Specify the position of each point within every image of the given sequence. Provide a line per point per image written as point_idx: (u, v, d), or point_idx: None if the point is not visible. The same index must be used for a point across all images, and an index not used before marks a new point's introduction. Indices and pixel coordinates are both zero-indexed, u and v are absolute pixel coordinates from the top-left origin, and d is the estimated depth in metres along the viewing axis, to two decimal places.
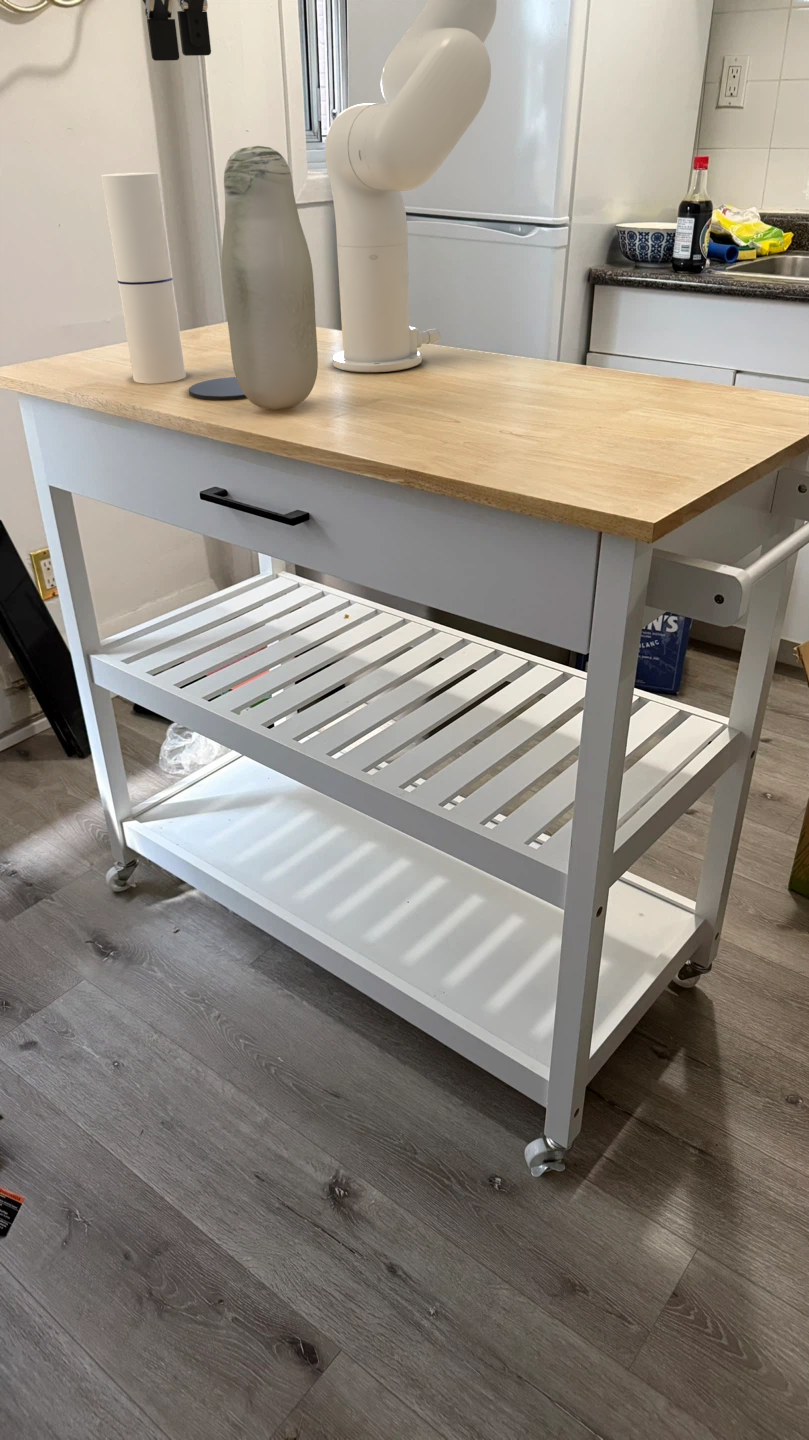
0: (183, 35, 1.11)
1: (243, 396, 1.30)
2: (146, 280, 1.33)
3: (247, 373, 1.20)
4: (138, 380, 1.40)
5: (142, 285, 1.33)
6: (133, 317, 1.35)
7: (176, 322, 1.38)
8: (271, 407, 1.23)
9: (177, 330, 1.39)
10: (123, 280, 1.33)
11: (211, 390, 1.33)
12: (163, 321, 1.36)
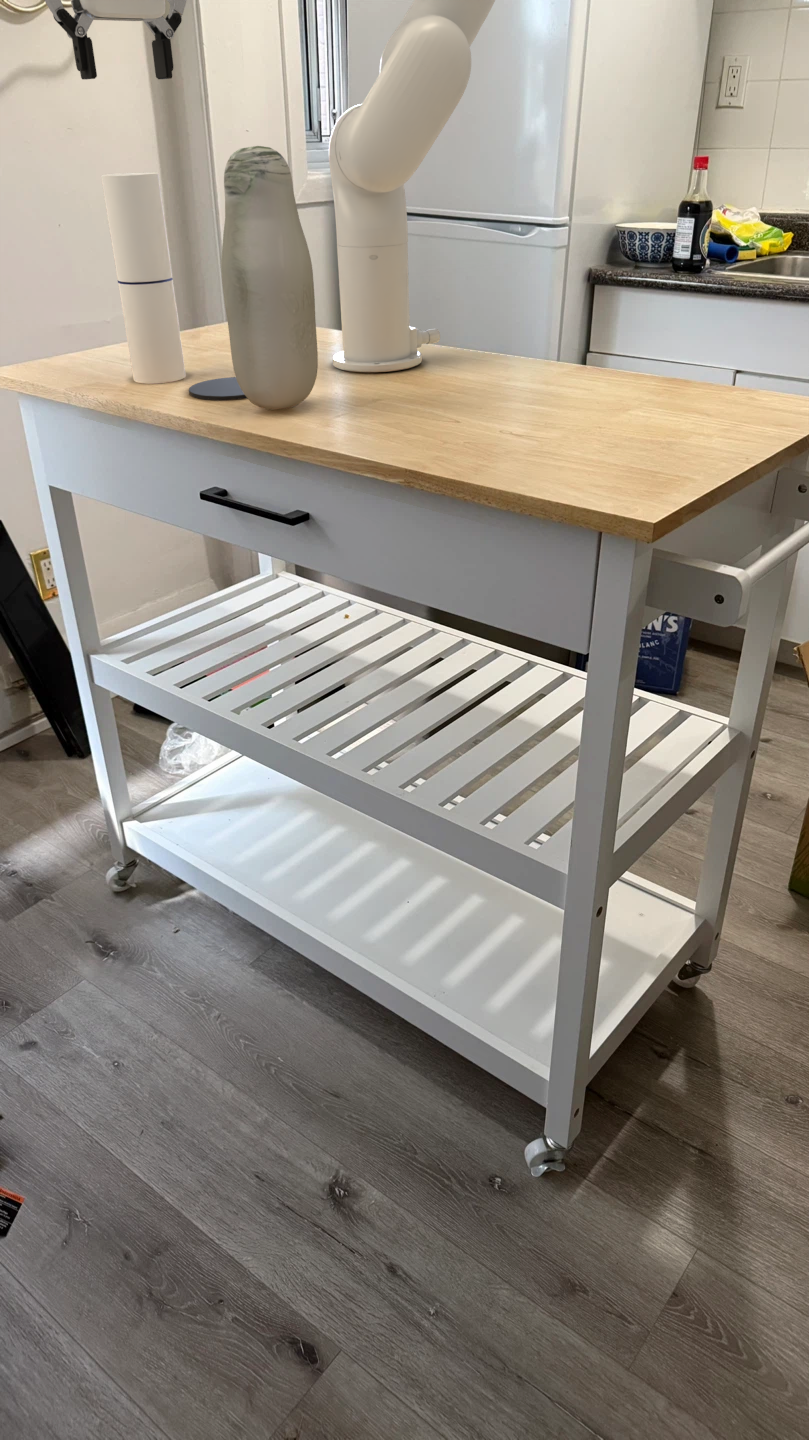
0: None
1: (243, 396, 1.30)
2: (146, 280, 1.33)
3: (247, 373, 1.20)
4: (138, 380, 1.40)
5: (142, 285, 1.33)
6: (134, 317, 1.35)
7: (176, 322, 1.38)
8: (271, 407, 1.23)
9: (177, 330, 1.39)
10: (123, 280, 1.33)
11: (211, 390, 1.33)
12: (163, 321, 1.36)
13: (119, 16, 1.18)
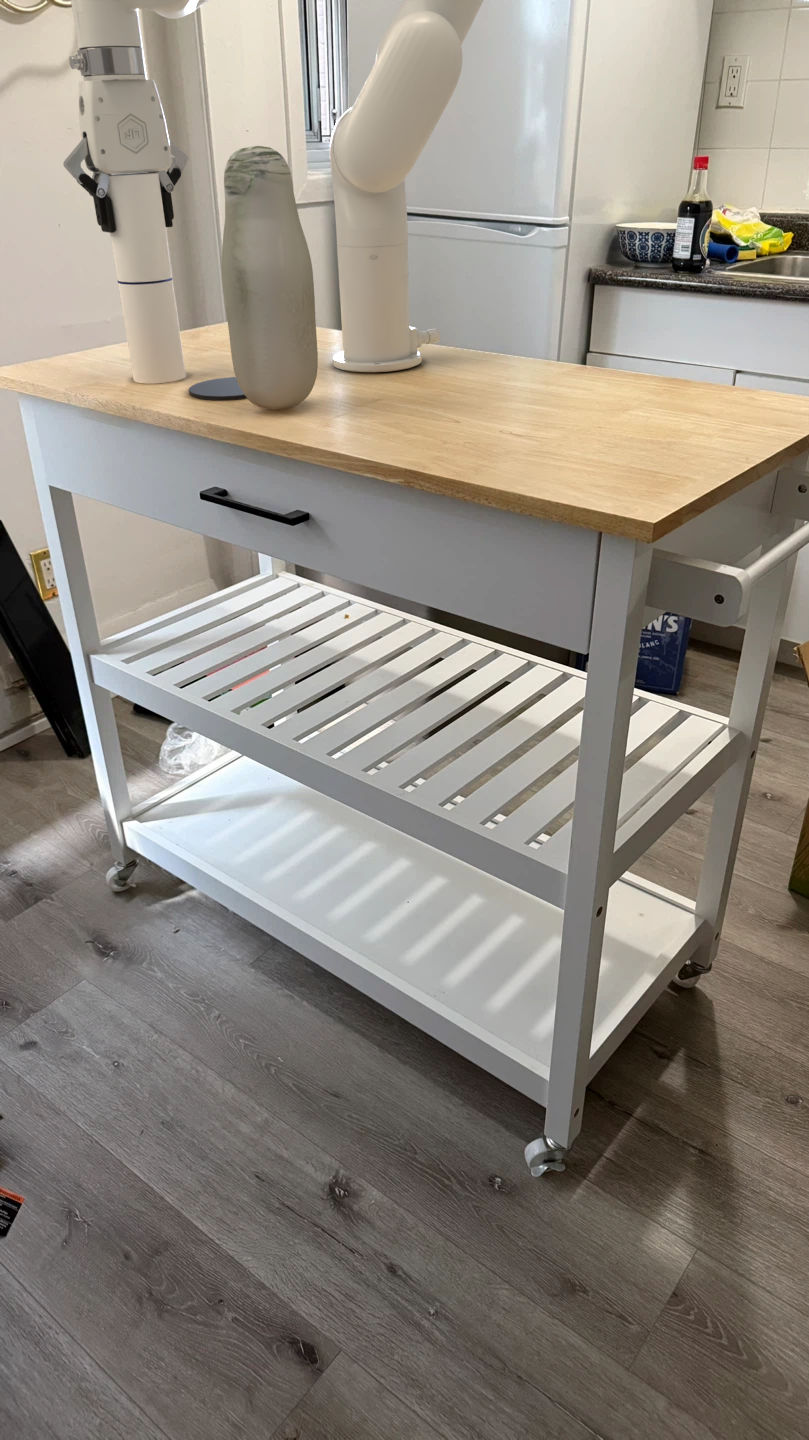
0: None
1: (243, 396, 1.30)
2: (146, 280, 1.33)
3: (247, 373, 1.20)
4: (138, 380, 1.40)
5: (142, 285, 1.33)
6: (133, 317, 1.35)
7: (176, 322, 1.38)
8: (271, 407, 1.23)
9: (177, 330, 1.39)
10: (123, 280, 1.33)
11: (211, 390, 1.33)
12: (163, 321, 1.36)
13: (128, 172, 1.27)
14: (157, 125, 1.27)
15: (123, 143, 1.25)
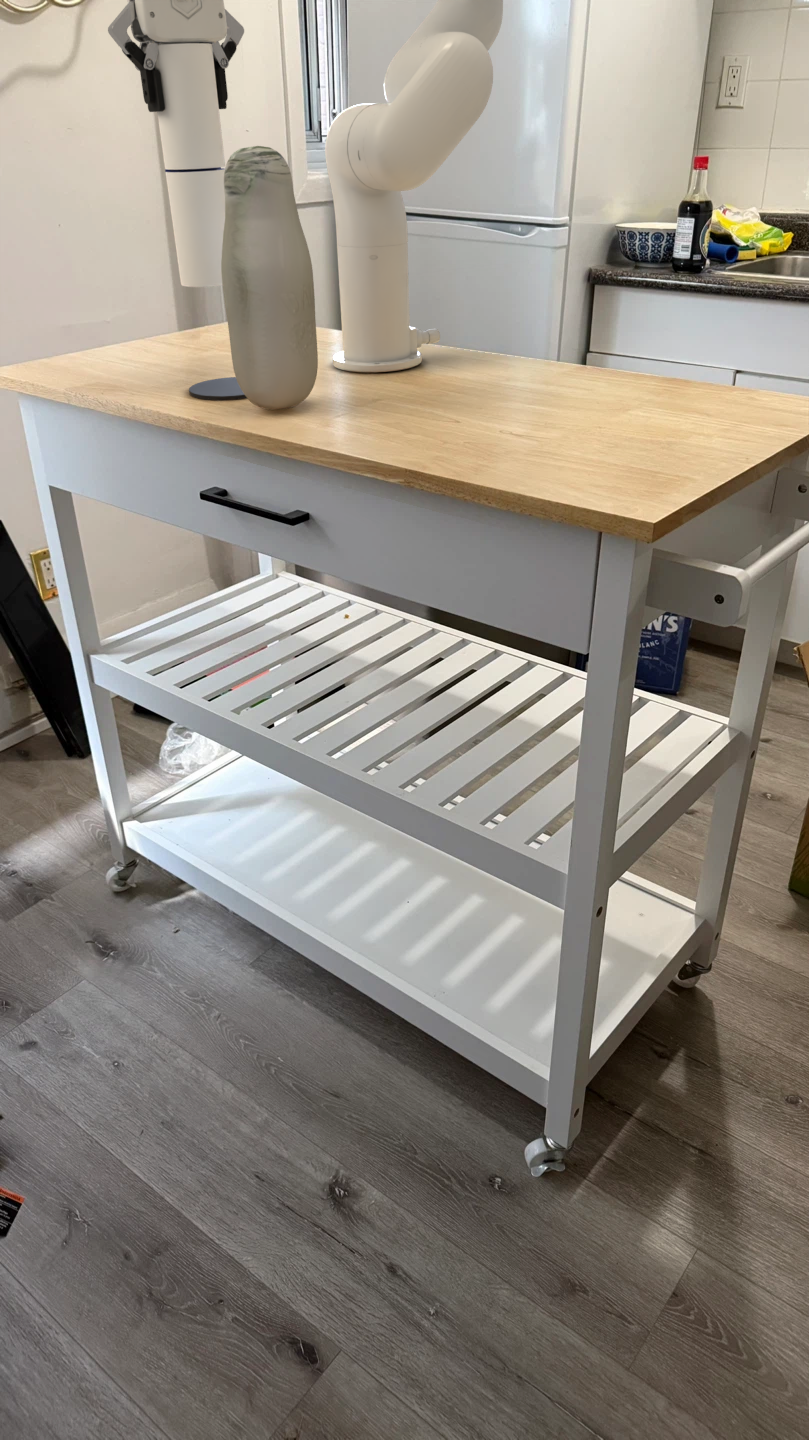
0: None
1: (243, 396, 1.30)
2: (197, 167, 1.20)
3: (247, 373, 1.20)
4: (186, 284, 1.27)
5: (193, 173, 1.20)
6: (183, 210, 1.22)
7: None
8: (271, 407, 1.23)
9: None
10: (172, 167, 1.20)
11: (211, 390, 1.33)
12: (215, 215, 1.23)
13: (180, 40, 1.14)
14: None
15: (174, 6, 1.12)
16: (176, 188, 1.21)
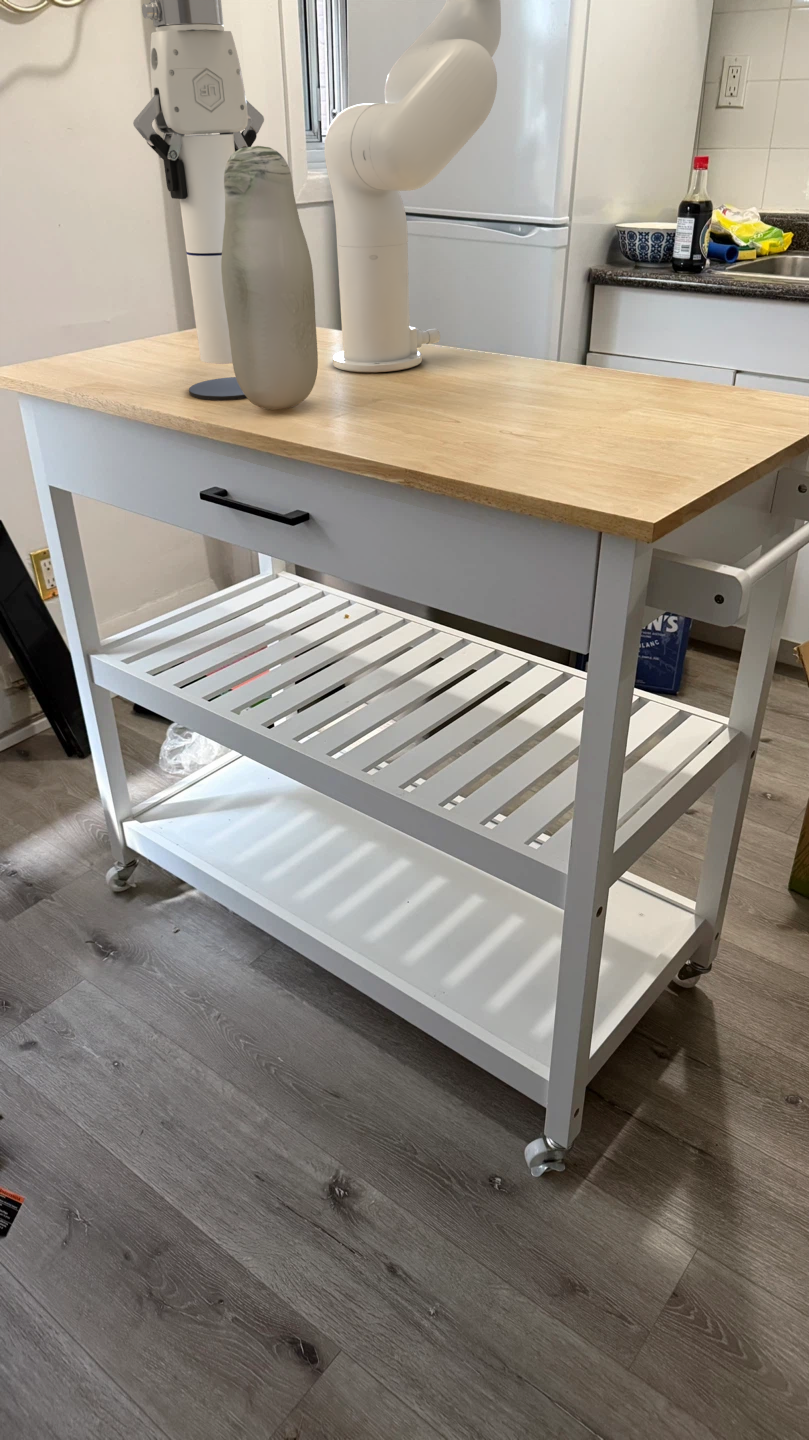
0: None
1: (243, 396, 1.30)
2: (218, 251, 1.23)
3: (247, 373, 1.20)
4: (206, 360, 1.30)
5: (214, 256, 1.23)
6: (204, 292, 1.25)
7: None
8: (271, 407, 1.23)
9: None
10: (193, 251, 1.24)
11: (211, 390, 1.33)
12: None
13: (203, 132, 1.17)
14: (234, 81, 1.17)
15: (198, 100, 1.15)
16: (197, 270, 1.25)
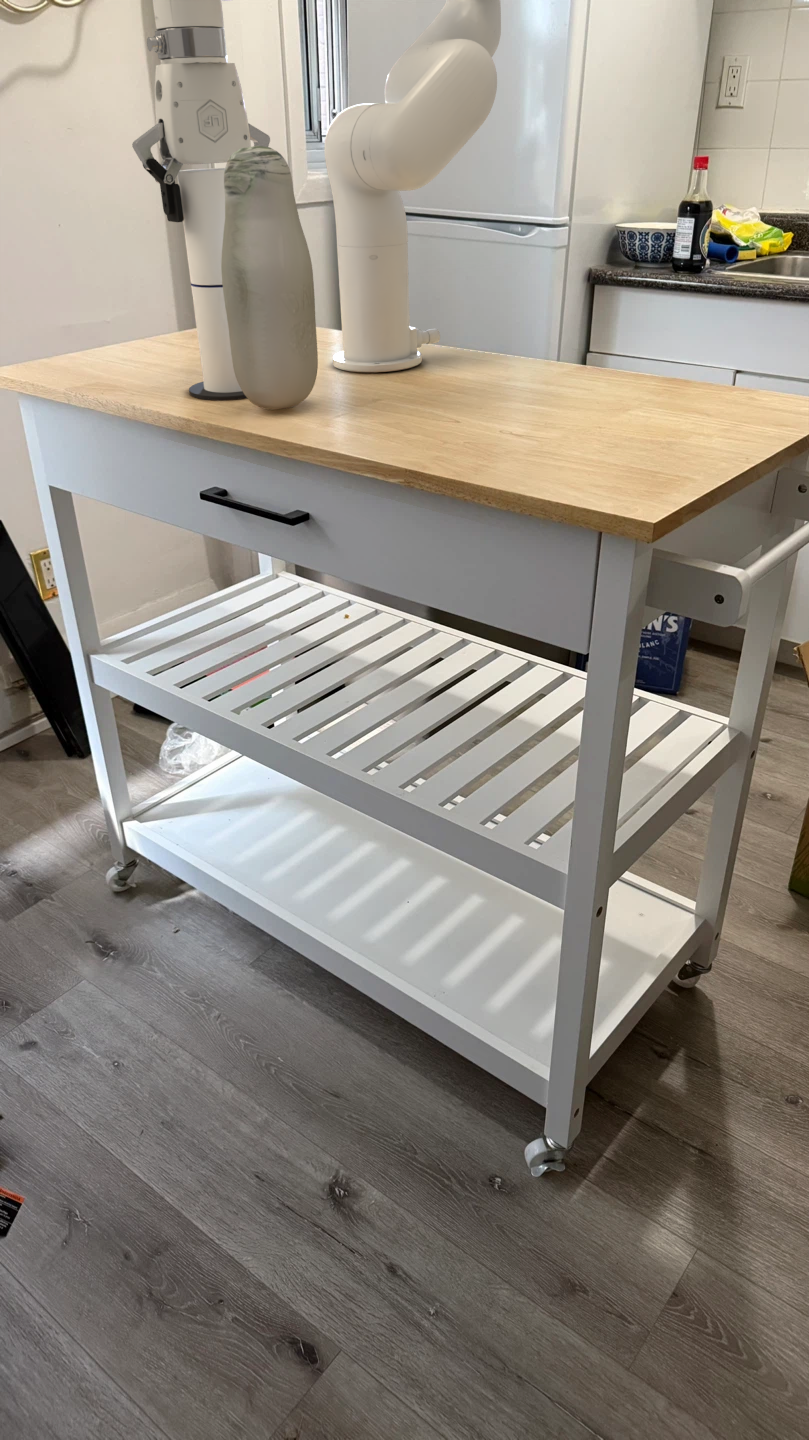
0: None
1: (243, 396, 1.30)
2: None
3: (247, 373, 1.20)
4: (210, 389, 1.32)
5: (218, 288, 1.25)
6: (208, 322, 1.27)
7: None
8: (271, 407, 1.23)
9: None
10: (198, 283, 1.25)
11: None
12: None
13: (207, 162, 1.19)
14: (237, 112, 1.19)
15: (202, 131, 1.17)
16: (202, 302, 1.26)
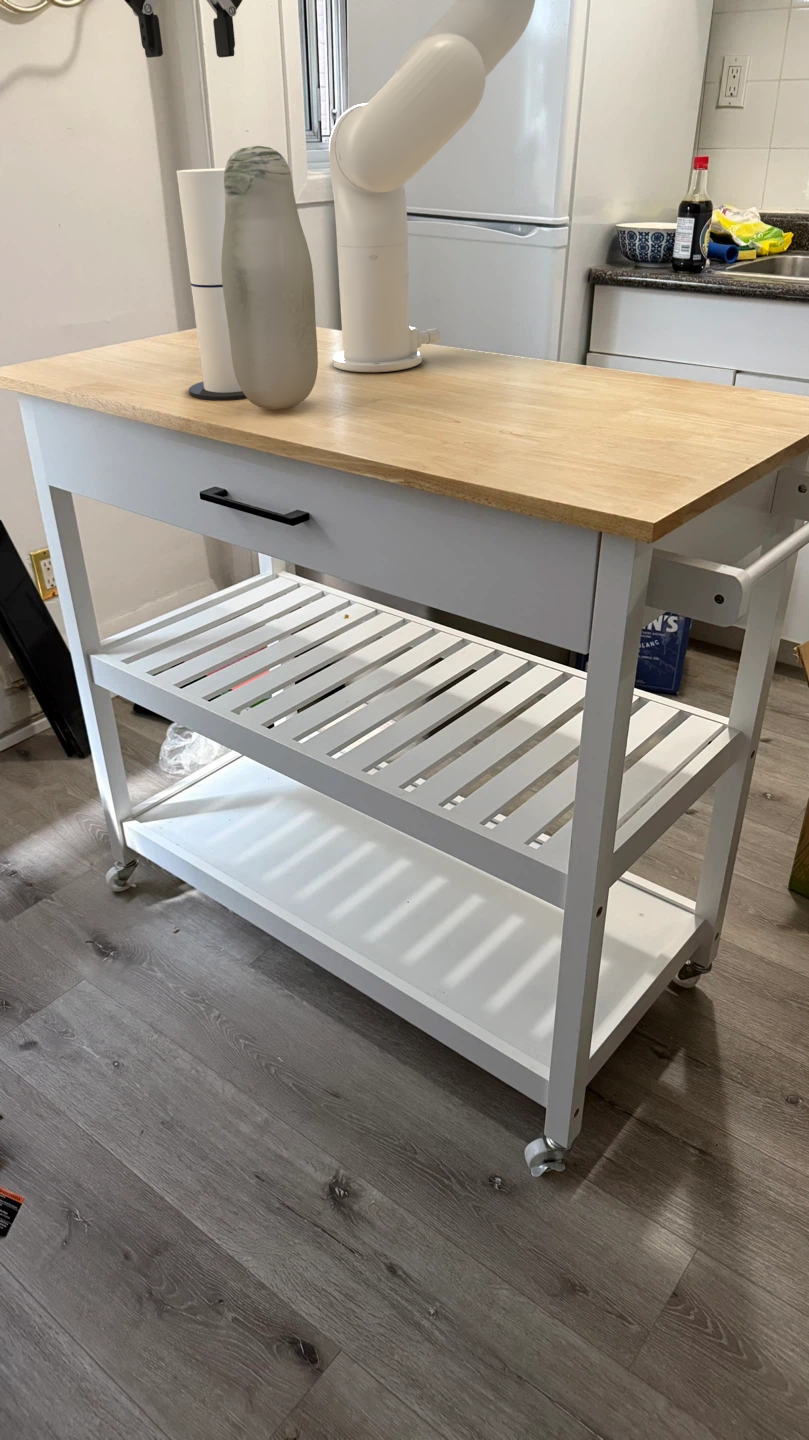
0: None
1: (243, 396, 1.30)
2: None
3: (247, 373, 1.20)
4: (210, 389, 1.32)
5: (218, 288, 1.25)
6: (208, 322, 1.27)
7: None
8: (271, 407, 1.23)
9: None
10: (198, 283, 1.25)
11: None
12: None
13: None
14: None
15: None
16: (202, 302, 1.26)
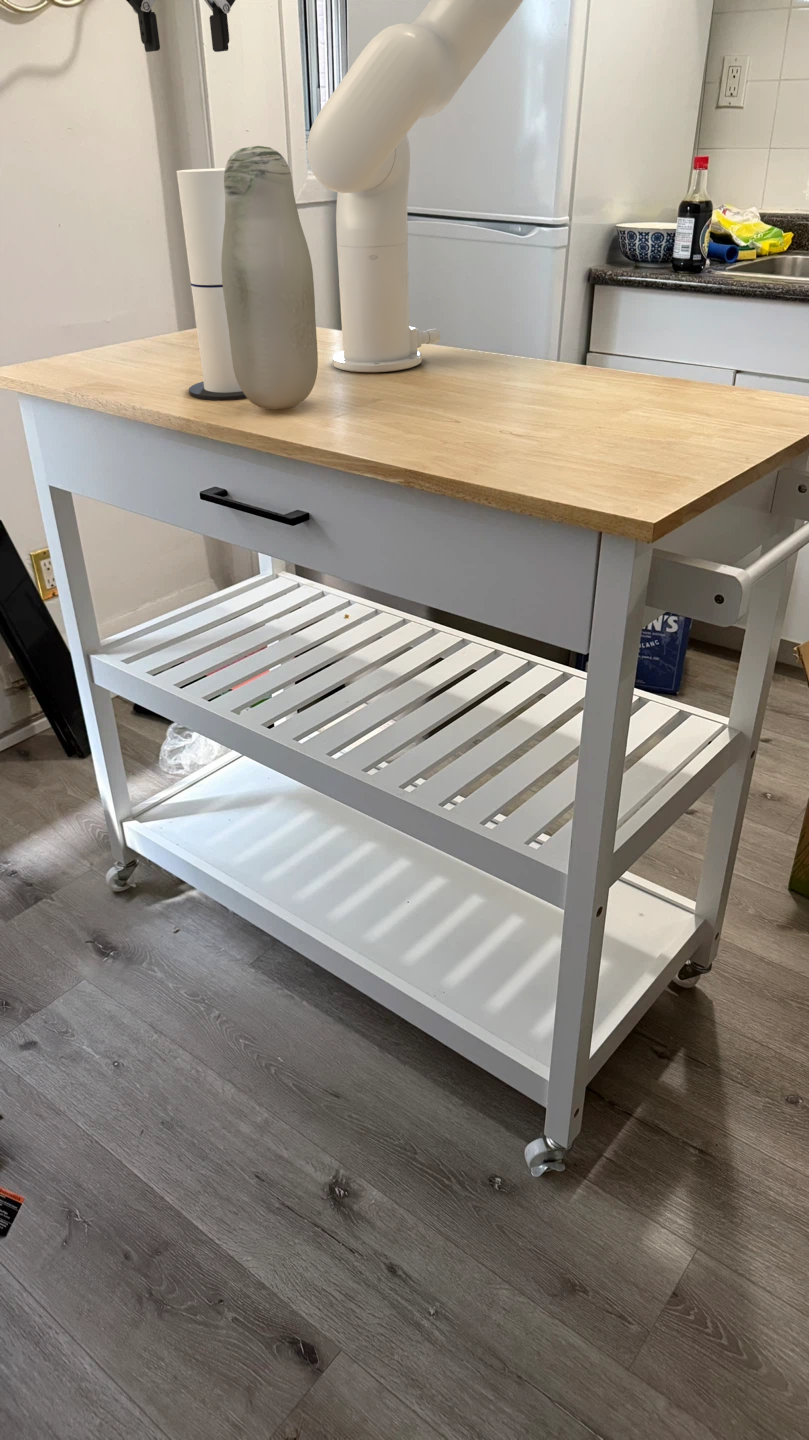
0: None
1: (243, 396, 1.30)
2: None
3: (247, 373, 1.20)
4: (210, 389, 1.32)
5: (218, 288, 1.25)
6: (208, 322, 1.27)
7: None
8: (271, 407, 1.23)
9: None
10: (198, 283, 1.25)
11: None
12: None
13: None
14: None
15: None
16: (202, 302, 1.26)
